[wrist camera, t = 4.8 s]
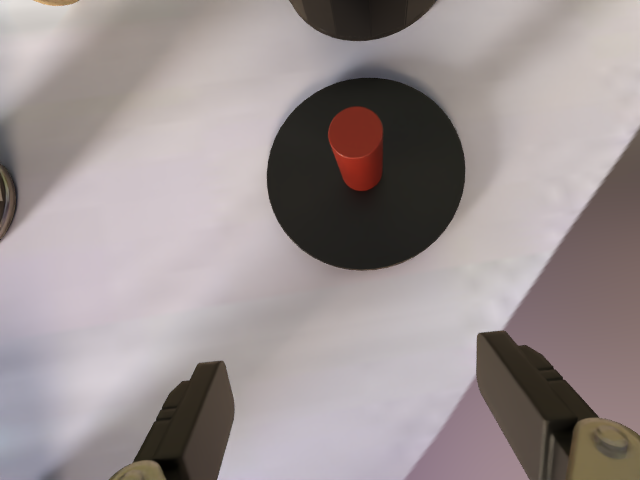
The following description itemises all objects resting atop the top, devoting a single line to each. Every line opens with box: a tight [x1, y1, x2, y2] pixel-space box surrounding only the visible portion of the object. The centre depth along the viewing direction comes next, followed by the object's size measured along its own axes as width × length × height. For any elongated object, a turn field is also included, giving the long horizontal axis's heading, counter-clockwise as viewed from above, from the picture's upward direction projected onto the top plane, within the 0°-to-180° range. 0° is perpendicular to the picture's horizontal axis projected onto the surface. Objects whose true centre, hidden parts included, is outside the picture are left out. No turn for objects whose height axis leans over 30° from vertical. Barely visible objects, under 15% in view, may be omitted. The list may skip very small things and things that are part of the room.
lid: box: [267, 78, 465, 271], centre depth 25 cm, size 15×15×9 cm
